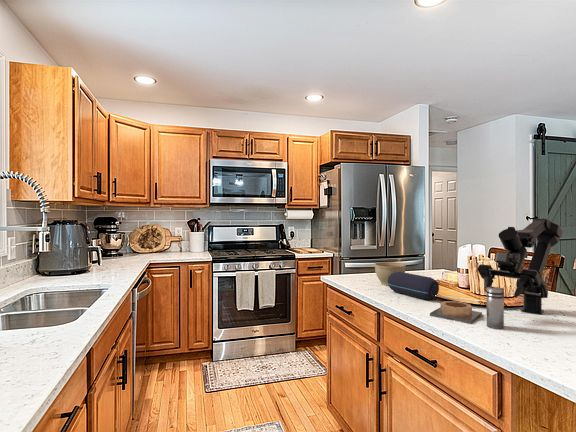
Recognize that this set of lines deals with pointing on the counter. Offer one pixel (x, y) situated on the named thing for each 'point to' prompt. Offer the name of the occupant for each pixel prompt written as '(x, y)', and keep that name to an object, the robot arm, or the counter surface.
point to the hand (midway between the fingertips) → (499, 294)
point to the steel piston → (495, 307)
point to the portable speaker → (413, 285)
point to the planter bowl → (388, 270)
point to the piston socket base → (456, 312)
